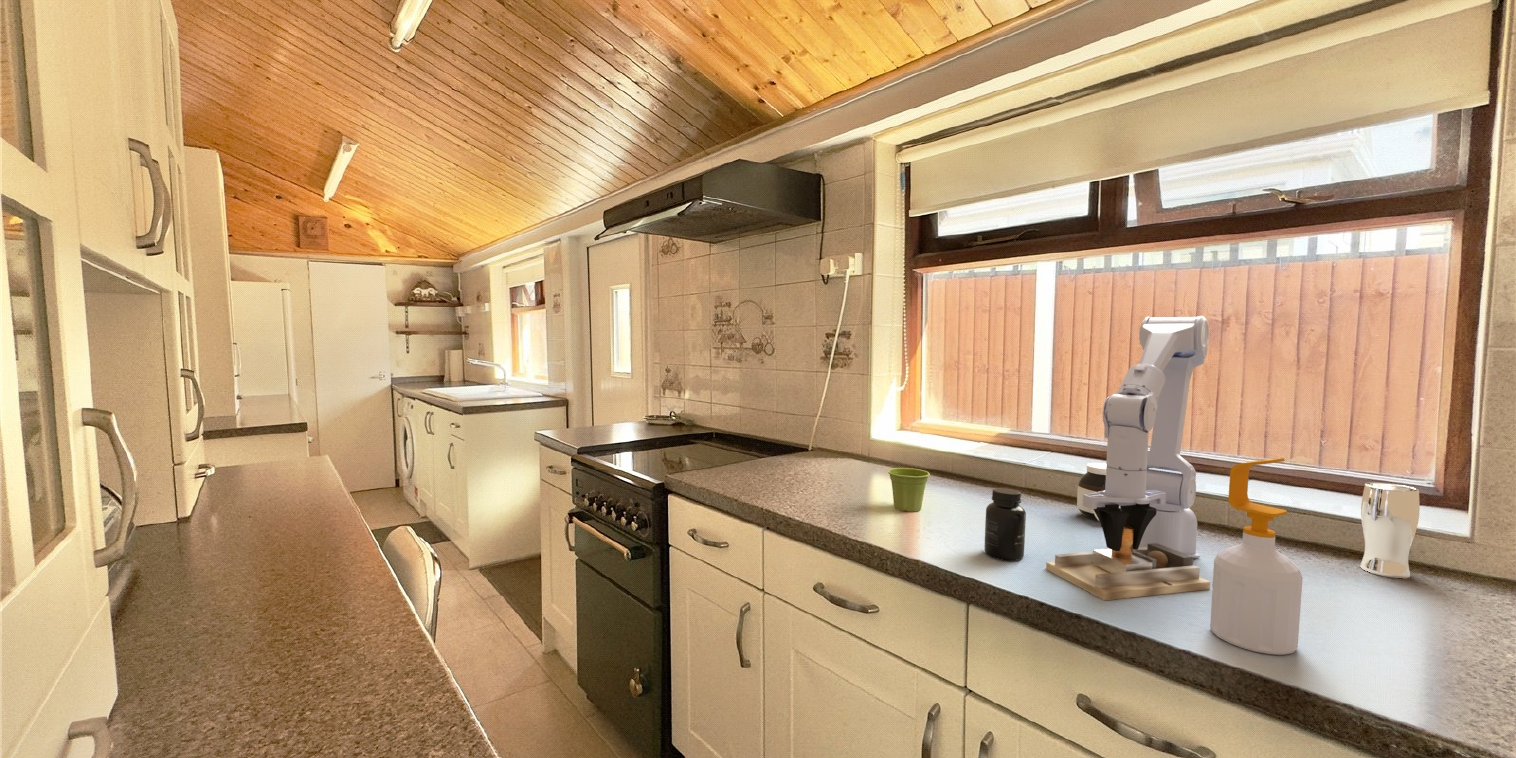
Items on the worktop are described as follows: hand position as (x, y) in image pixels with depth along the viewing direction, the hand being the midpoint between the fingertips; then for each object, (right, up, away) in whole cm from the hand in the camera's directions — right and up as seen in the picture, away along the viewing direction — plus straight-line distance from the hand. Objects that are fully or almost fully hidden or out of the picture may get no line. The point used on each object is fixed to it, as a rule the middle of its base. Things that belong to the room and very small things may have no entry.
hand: (1122, 548), depth 102 cm
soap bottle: (+6, -7, -20) cm, 22 cm away
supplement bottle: (-15, -5, +11) cm, 19 cm away
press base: (+1, -5, 0) cm, 5 cm away
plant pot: (-25, -2, +41) cm, 49 cm away
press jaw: (0, -4, 0) cm, 4 cm away
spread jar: (+16, -3, +34) cm, 38 cm away
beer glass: (+48, -6, +4) cm, 49 cm away
